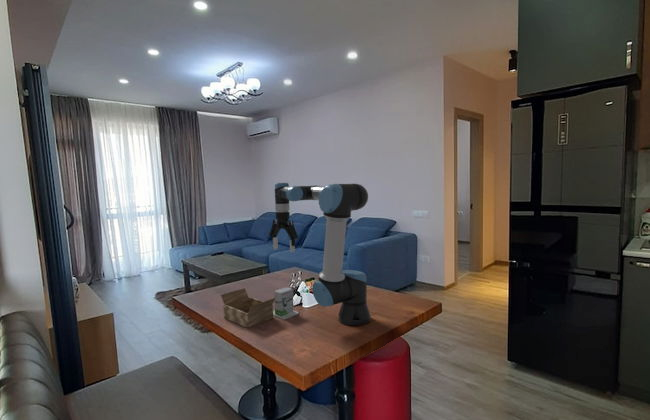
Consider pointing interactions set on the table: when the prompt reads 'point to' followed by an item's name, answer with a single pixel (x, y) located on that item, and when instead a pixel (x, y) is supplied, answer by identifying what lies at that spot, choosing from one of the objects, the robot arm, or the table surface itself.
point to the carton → (246, 308)
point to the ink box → (283, 301)
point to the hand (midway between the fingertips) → (283, 250)
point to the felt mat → (286, 315)
